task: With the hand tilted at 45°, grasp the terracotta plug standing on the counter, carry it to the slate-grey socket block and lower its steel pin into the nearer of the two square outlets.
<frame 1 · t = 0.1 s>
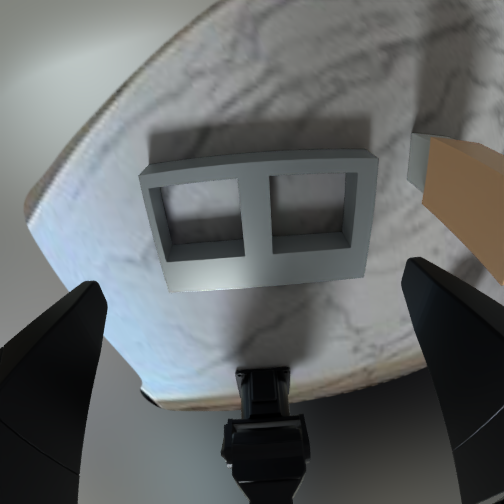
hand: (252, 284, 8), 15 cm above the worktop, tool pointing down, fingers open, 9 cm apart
plug: (428, 157, 20), on the worktop
socket block: (262, 215, 23), on the worktop
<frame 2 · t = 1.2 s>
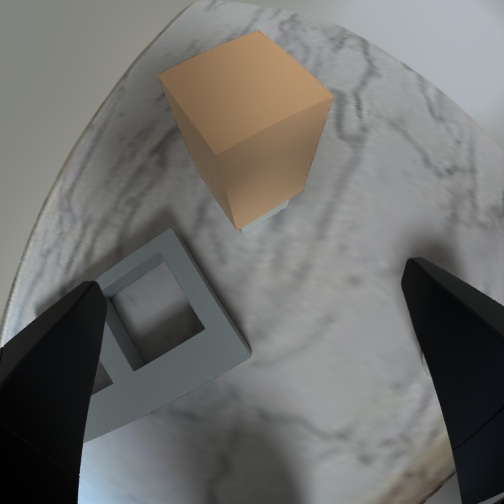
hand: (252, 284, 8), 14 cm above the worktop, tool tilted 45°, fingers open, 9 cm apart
plug: (250, 199, 23), on the worktop
socket block: (128, 346, 21), on the worktop
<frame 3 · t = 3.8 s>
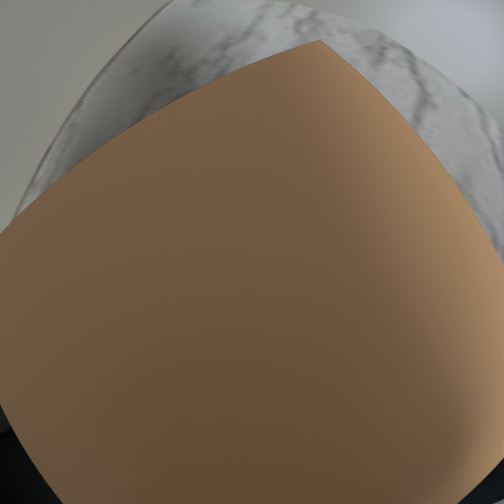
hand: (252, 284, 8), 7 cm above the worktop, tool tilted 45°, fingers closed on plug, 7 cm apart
plug: (258, 325, 15), on the worktop, touching gripper
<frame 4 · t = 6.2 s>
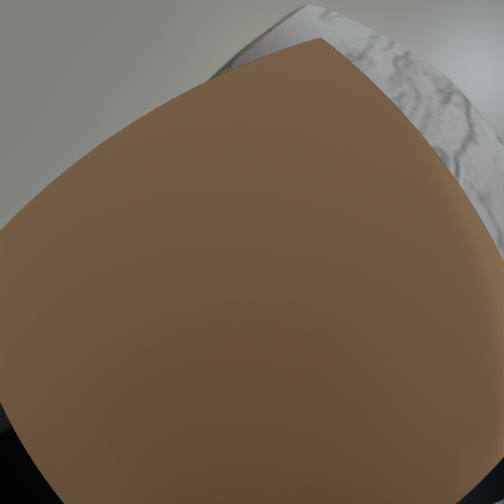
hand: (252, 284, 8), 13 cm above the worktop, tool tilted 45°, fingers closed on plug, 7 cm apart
plug: (258, 324, 15), point 6 cm above the worktop, touching gripper
when the fingers open (8 cm above the worktop, at t = 8.3 s): plug stays where it is, resting in socket block.
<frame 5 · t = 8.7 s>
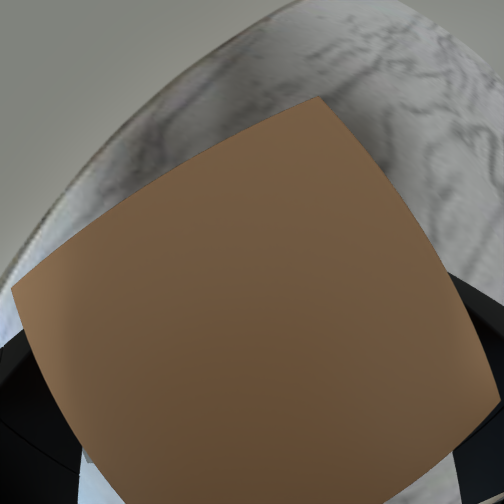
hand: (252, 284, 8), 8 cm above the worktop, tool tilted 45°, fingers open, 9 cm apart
plug: (259, 325, 16), resting in socket block
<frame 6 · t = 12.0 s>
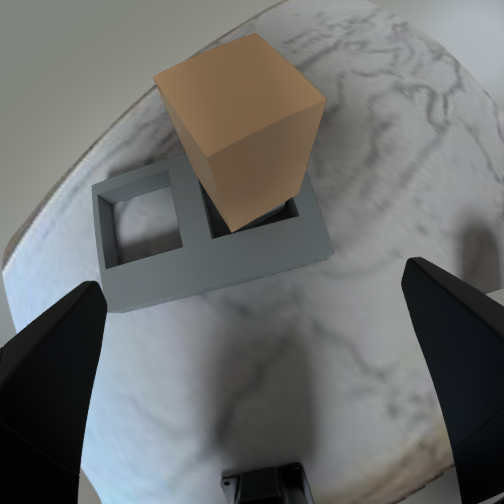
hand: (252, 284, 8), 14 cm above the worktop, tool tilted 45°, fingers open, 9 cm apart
plug: (247, 201, 23), resting in socket block
socket block: (204, 224, 23), on the worktop
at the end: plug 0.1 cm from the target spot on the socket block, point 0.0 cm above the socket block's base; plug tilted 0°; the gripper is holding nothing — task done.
